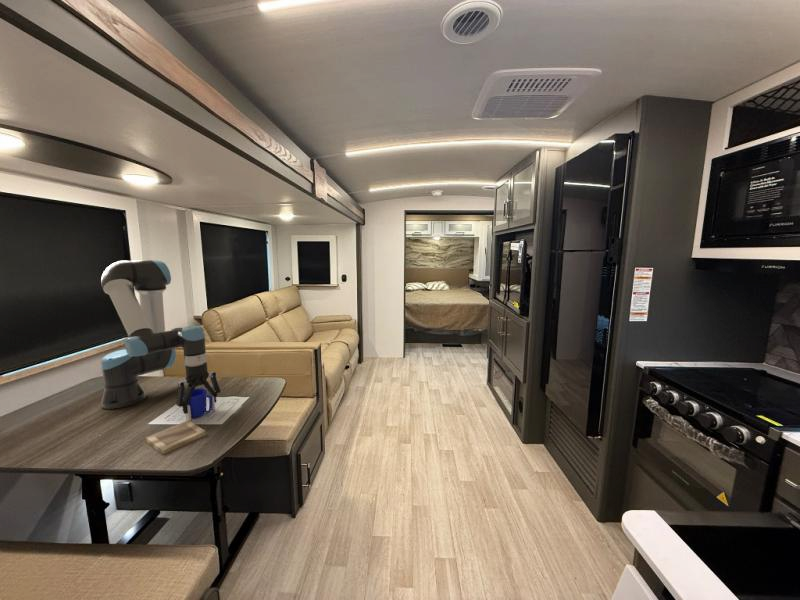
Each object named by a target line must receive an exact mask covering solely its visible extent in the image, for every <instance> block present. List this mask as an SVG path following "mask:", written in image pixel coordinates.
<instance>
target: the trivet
mask: <svg viewBox="0 0 800 600" xmlns="http://www.w3.org/2000/svg"><path fill="white" fill-rule="evenodd" d="M206 435H207V431H206V430H205V429H203V428H201V427H200V426H198V425H197V424H195V423H193V422H192V421H189V420H185V421H183V422H180V423H178V424H176V425H172V426H170V427H168V428H165V429H163V430H160V431H159V432H155V433H153V434H151V435H149V436H146V437H145V442H147V443H148V444H149V445H150V446H151V447H153V449H155V450H156V451H158V453H160V454H161V455H165V454H168V453H169V452H171V451H174V450H176V449H178V448H180V447H182V446H185V445H187V444H190V443H191V442H193V441H196V440H198V439H200V438H202V437H205V436H206Z"/></svg>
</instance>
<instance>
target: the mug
mask: <svg viewBox="0 0 800 600" xmlns="http://www.w3.org/2000/svg"><path fill="white" fill-rule="evenodd" d="M207 391H208V390H207V389H206V388H195V389H194V390H193V392H192V395H191V398H190V400H189V403H188V405H190V411H191V419H195V418H200V417H202V416H204V415H205V414H208V413H210V412H211V411H212V403H213V398H212V396H210V395H211V394H210V395H209V394H207ZM185 394H186V392H184V396H185ZM207 399H208V400H209V405H208V406H209V407H208V409H207Z"/></svg>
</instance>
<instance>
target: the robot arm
mask: <svg viewBox="0 0 800 600" xmlns="http://www.w3.org/2000/svg"><path fill="white" fill-rule="evenodd" d="M171 281H172V275H171V271H170V270H169V267H168V265H167V264H166V263H165V262H164V261H162V260H156V259H155V260H154V259H150V260H149V259H147V260H118V261H116V262H113V263H111V264H110V265H109V266H107V267H106V268H105V270H103V273H102V275H101V278H100V283H101V284H100V285H101V288H102V290H103V292H104V293H105V294H106V295H109V298H110V300H111V301H112V304H113V306H114V308H115V310H116V312H117V315H118V318H119V319H120V321H121V323H122V326H123V327H124V330H125V331H126V334H127V336H128V337H127V338H126V339H125V341H124V347H125V349H120V350H115V351H113V352H110V353H108V354H106V355H104V356H103V357H102V359H101V360H100V362H101V368H100V369H101V371H102V378H103V385H104V391H103V395H102V398H101V401H100V402H101V403H100V404H101V408H102V407H103V408H102V409H105V410H113V409H114V410H115V408H116V409H122V408H125V407H129V405H130V406H132V405H135V404H137V403H140V402H141V401H143V400H144V399H145V398H146V391H145V389H144V388H143V386H142V385H141V383H140V382H139V376H143V375H147V374H149V373H155V372H159V371H163V370H165V369H168V368H171V367H172V366H173V365H175V362H176V358H177V352H176V349H178V348H183V357H184V365H185V376H186V377H185V379H184V380H181V381H180V380H178V381H177V385H178V389H177V397H176V406H177V407H179V408H181V407H182V413H183V414H184V415H185V417H186V418H185V419H186V421H188V420H189V421H190V422H192V418H191V411H190V405H188V403H189V400H190V398H191V395H192V392H193V390H194V389H196V387H198V386H202V385H203V386H204V388H205V389H206V391H208V392H209V394H210V396H212V398H213V403H212V410H211V411H212V412H216V406H215V405H216V403H217V397H218V394H220V393H221V389H220V386H219V385H220V384H219V383H218V380H217V377H216V376H217V372H214V371H213V370H212V371H210V372H208V362H207V352H206V338H205V336H206V334H205V331H204V327H203V326H202V325H189V326H185V327H174V328H172V329H171V330H167V331H166V325H165V323H166V322H165V321H166V320H165V310H164V308H165V307H164V297H163V295H164V292H165V291H166V290H167V286H169V285H170V284H171ZM133 288H134V290H133ZM134 291H135V292H137V293H138V294H139V300H138V299H137V296H136V295H135V292H134ZM208 378H210V381H211V384H212V386H211V385H210V384H209V382H208V380H207V379H208ZM186 385H187V388H186ZM185 388H186V391H185ZM184 393H186V394H185V396H184Z"/></svg>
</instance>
